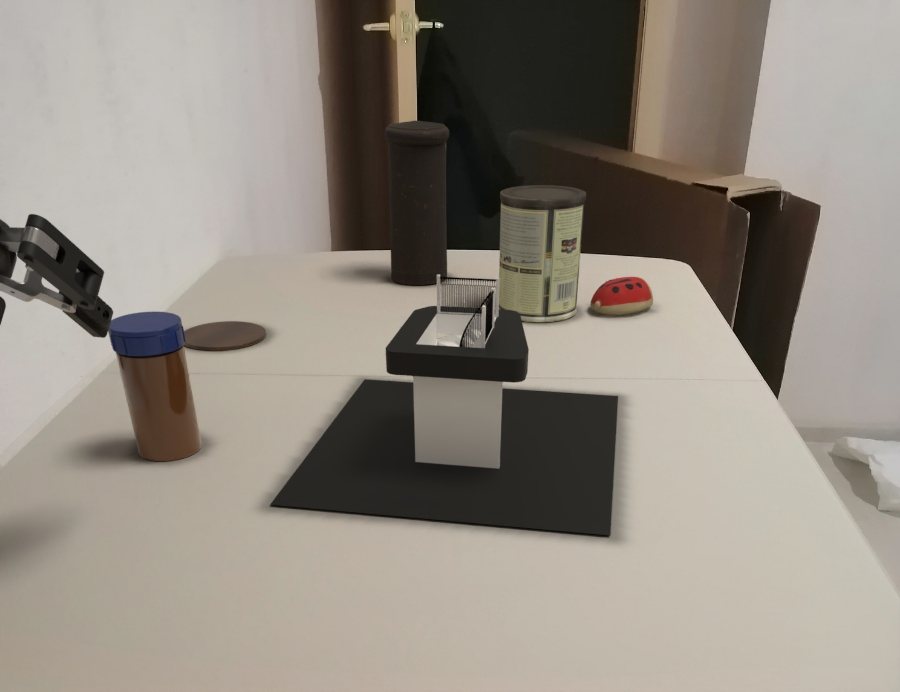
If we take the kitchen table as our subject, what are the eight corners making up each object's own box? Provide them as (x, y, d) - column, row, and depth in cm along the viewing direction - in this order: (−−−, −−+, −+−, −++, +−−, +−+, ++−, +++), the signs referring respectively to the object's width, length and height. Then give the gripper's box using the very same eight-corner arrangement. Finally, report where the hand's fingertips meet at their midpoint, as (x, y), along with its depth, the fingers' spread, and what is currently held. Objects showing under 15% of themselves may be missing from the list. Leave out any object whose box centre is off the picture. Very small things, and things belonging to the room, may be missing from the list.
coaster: (167, 349, 97) (167, 346, 96) (196, 323, 105) (196, 320, 105) (253, 352, 96) (252, 348, 96) (275, 325, 104) (275, 322, 104)
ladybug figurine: (664, 307, 111) (668, 278, 109) (618, 322, 105) (621, 293, 103) (622, 296, 115) (625, 269, 113) (576, 311, 109) (578, 282, 107)
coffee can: (513, 296, 115) (518, 182, 107) (586, 305, 111) (597, 188, 103) (484, 316, 107) (486, 195, 99) (561, 327, 103) (570, 201, 95)
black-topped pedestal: (610, 537, 62) (632, 357, 54) (270, 506, 66) (246, 334, 58) (617, 397, 84) (634, 256, 77) (364, 380, 88) (356, 245, 81)
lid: (100, 355, 67) (94, 331, 66) (129, 333, 72) (124, 310, 71) (170, 357, 67) (165, 333, 66) (194, 335, 71) (190, 312, 70)
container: (455, 272, 125) (456, 118, 114) (441, 288, 118) (440, 125, 107) (399, 269, 127) (394, 116, 116) (382, 284, 120) (375, 123, 108)
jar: (128, 460, 73) (99, 337, 67) (152, 434, 77) (126, 317, 71) (189, 462, 72) (165, 339, 66) (209, 436, 77) (189, 318, 71)
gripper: (-16, 94, 42) (155, 278, 57) (-243, 89, 45) (-21, 264, 60) (-59, 231, 40) (128, 380, 56) (-289, 215, 44) (-51, 361, 59)
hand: (50, 320), depth 58 cm, fingers open, 8 cm apart
